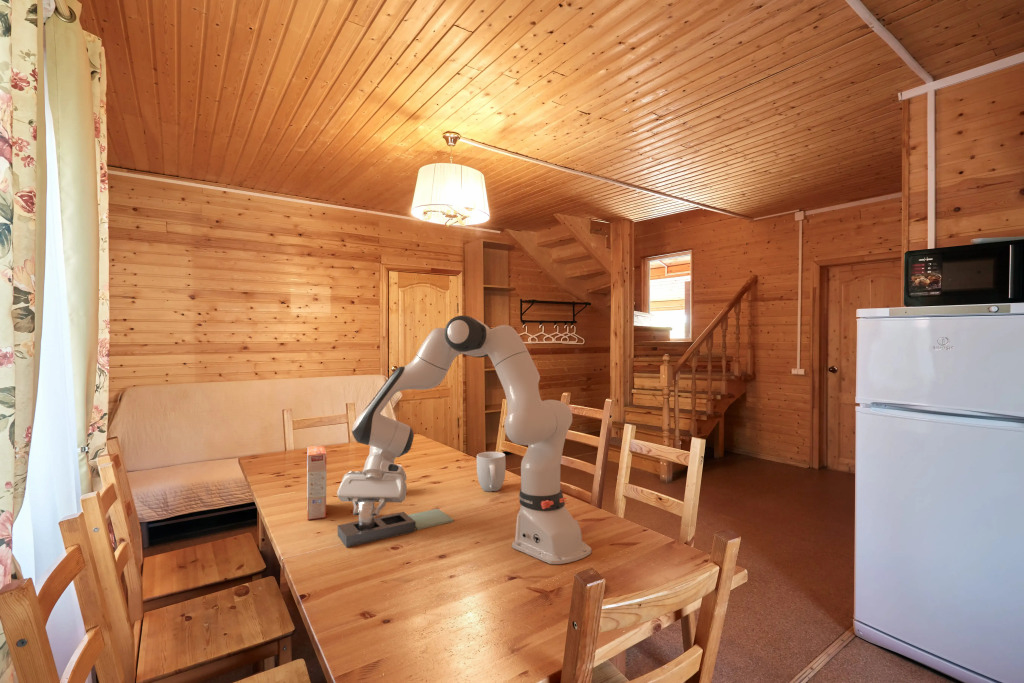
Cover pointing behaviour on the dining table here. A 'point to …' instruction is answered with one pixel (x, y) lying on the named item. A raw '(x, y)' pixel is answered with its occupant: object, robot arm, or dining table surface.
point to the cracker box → (316, 482)
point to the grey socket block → (376, 529)
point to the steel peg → (366, 514)
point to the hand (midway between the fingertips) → (365, 514)
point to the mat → (430, 518)
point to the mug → (491, 470)
